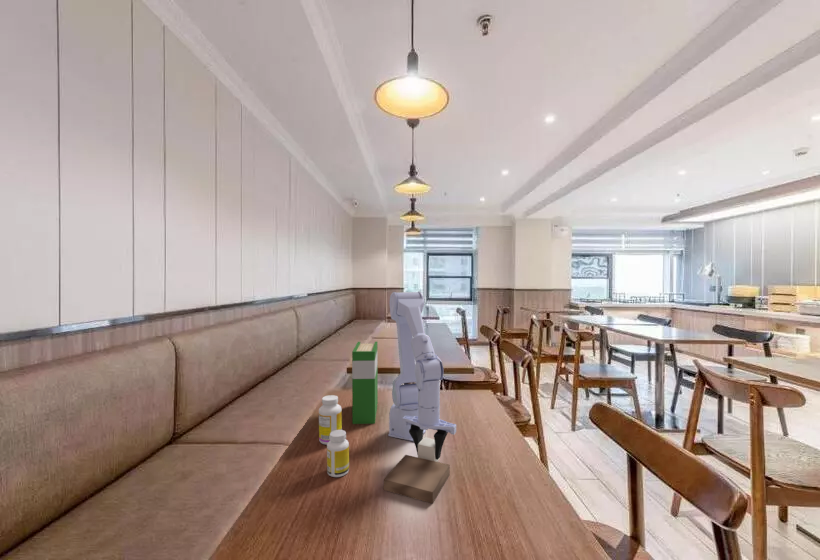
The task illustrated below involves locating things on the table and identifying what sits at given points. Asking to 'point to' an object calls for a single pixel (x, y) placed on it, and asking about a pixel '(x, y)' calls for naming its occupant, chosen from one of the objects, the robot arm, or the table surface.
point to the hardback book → (364, 383)
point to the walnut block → (417, 478)
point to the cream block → (427, 449)
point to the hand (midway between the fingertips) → (428, 455)
